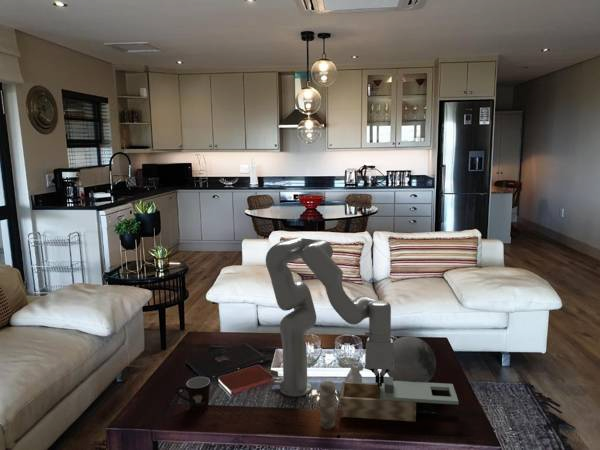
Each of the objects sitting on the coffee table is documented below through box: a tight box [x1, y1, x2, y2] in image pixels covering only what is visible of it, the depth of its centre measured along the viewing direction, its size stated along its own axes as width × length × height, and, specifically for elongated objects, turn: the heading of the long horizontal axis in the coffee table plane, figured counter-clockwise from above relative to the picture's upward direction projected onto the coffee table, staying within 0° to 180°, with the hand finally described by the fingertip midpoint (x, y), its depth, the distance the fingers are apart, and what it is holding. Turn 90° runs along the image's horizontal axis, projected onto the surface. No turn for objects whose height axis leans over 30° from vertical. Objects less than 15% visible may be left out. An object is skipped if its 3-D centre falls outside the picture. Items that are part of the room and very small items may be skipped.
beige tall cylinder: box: [319, 380, 336, 430], centre depth 163 cm, size 5×5×15 cm
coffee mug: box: [176, 376, 211, 412], centre depth 177 cm, size 12×9×10 cm
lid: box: [380, 376, 459, 405], centre depth 168 cm, size 26×12×4 cm, turn 82°
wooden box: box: [339, 381, 417, 422], centre depth 171 cm, size 26×12×8 cm, turn 82°
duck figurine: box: [344, 360, 364, 383], centre depth 190 cm, size 12×8×11 cm
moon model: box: [386, 335, 437, 383], centre depth 189 cm, size 20×20×20 cm
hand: (379, 384), depth 170 cm, fingers closed
